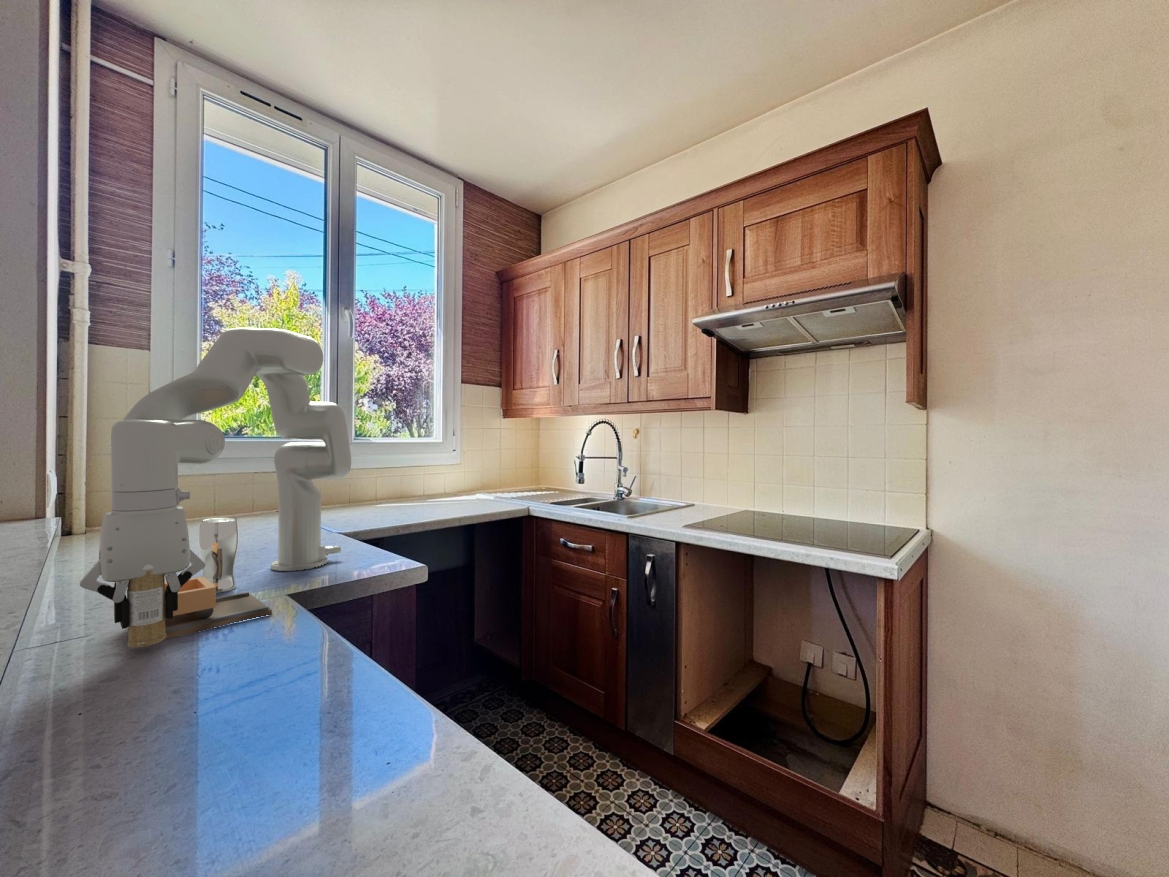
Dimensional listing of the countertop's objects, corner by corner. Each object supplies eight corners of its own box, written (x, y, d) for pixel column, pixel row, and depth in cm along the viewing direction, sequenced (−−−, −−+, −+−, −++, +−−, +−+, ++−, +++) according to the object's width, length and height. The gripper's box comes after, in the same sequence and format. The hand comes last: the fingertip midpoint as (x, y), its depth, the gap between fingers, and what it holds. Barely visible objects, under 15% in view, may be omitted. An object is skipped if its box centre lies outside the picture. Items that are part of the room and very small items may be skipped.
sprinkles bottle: (169, 633, 78) (169, 549, 78) (162, 644, 74) (161, 555, 74) (131, 639, 76) (130, 552, 75) (121, 651, 72) (120, 559, 72)
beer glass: (222, 595, 102) (222, 522, 102) (189, 594, 102) (189, 522, 102) (245, 585, 109) (246, 517, 109) (214, 585, 109) (215, 517, 109)
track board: (250, 598, 100) (250, 590, 100) (271, 615, 90) (271, 606, 90) (129, 622, 86) (129, 613, 86) (140, 645, 77) (140, 635, 77)
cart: (203, 604, 92) (203, 576, 92) (215, 617, 86) (215, 587, 86) (131, 618, 85) (131, 587, 85) (138, 633, 78) (138, 600, 78)
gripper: (209, 494, 83) (210, 601, 84) (64, 504, 71) (65, 630, 71) (219, 498, 78) (220, 612, 79) (65, 510, 66) (67, 646, 66)
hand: (146, 619), depth 75 cm, fingers closed on sprinkles bottle, 4 cm apart
